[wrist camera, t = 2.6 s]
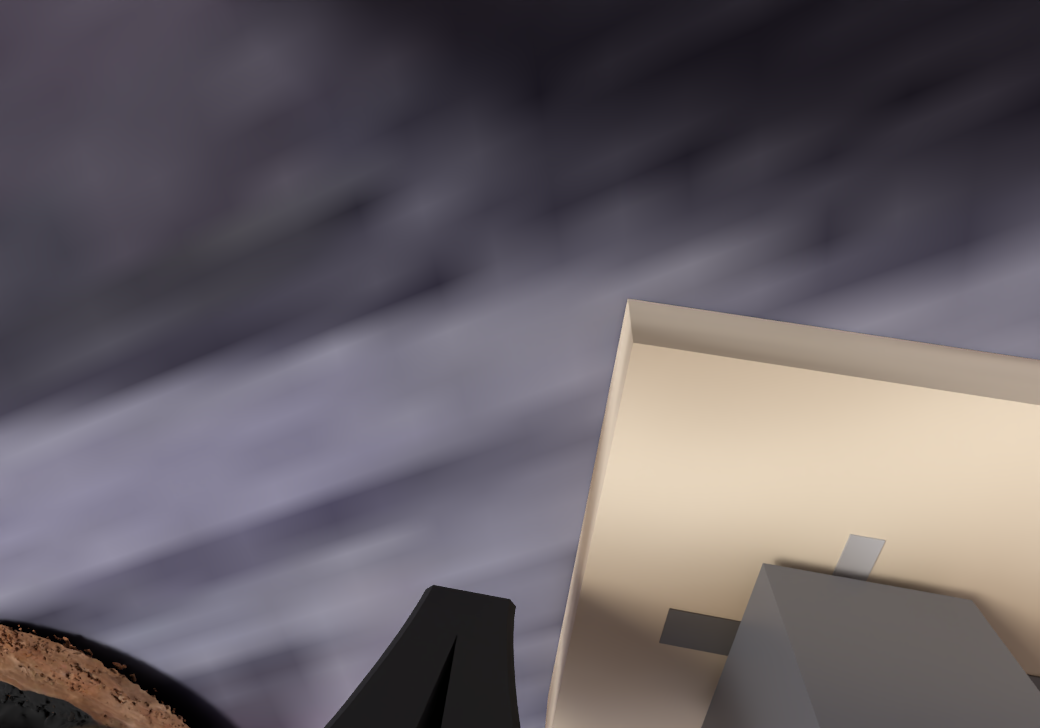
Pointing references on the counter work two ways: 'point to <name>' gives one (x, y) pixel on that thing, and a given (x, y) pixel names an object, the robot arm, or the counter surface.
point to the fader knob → (866, 660)
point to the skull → (70, 689)
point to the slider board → (787, 497)
